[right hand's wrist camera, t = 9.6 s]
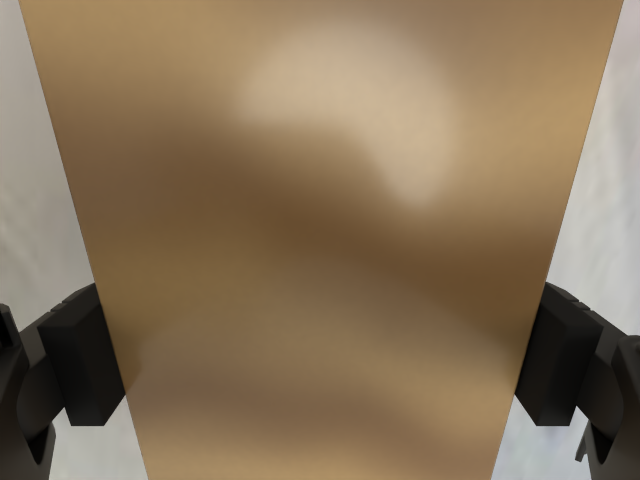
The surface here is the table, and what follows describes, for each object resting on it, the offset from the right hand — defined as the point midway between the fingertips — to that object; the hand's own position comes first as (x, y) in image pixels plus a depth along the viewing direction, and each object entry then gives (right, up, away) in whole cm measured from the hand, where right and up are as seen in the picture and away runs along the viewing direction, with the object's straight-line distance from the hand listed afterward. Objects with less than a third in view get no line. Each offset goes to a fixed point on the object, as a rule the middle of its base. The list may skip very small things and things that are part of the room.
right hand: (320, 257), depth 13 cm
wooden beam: (0, -27, +11) cm, 29 cm away
